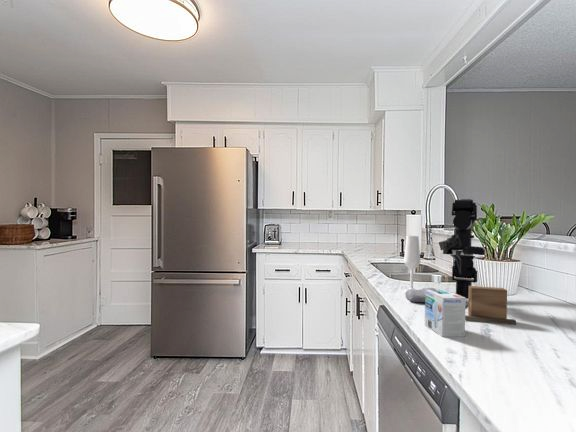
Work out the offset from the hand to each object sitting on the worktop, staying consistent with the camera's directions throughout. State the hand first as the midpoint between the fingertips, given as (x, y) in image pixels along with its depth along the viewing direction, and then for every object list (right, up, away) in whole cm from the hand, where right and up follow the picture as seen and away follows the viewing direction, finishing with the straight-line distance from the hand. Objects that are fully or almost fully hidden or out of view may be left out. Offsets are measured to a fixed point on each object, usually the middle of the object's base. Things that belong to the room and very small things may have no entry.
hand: (462, 274), depth 130 cm
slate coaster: (-3, -11, +1) cm, 12 cm away
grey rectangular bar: (-2, -11, -21) cm, 24 cm away
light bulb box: (-20, -11, -30) cm, 38 cm away
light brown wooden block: (-1, -11, -18) cm, 21 cm away
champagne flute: (-12, -11, +19) cm, 25 cm away
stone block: (-13, -11, +4) cm, 17 cm away
